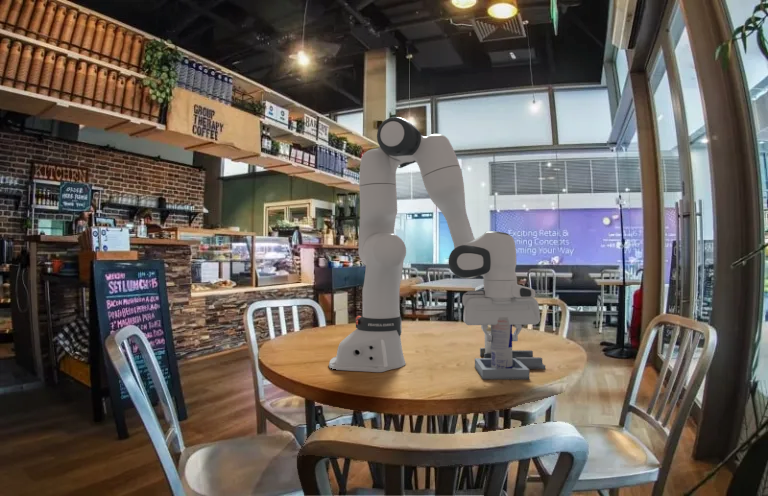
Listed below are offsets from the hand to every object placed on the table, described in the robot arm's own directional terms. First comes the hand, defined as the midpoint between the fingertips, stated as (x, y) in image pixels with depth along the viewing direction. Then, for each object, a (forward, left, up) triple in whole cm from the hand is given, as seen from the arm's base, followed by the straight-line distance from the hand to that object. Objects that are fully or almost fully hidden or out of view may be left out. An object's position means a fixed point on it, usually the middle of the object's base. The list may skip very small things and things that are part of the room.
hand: (501, 341), depth 117 cm
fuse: (+1, +16, -9) cm, 18 cm away
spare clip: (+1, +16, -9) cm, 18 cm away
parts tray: (0, 0, -9) cm, 9 cm away
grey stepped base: (+9, +9, -9) cm, 15 cm away
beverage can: (0, 0, -8) cm, 8 cm away
